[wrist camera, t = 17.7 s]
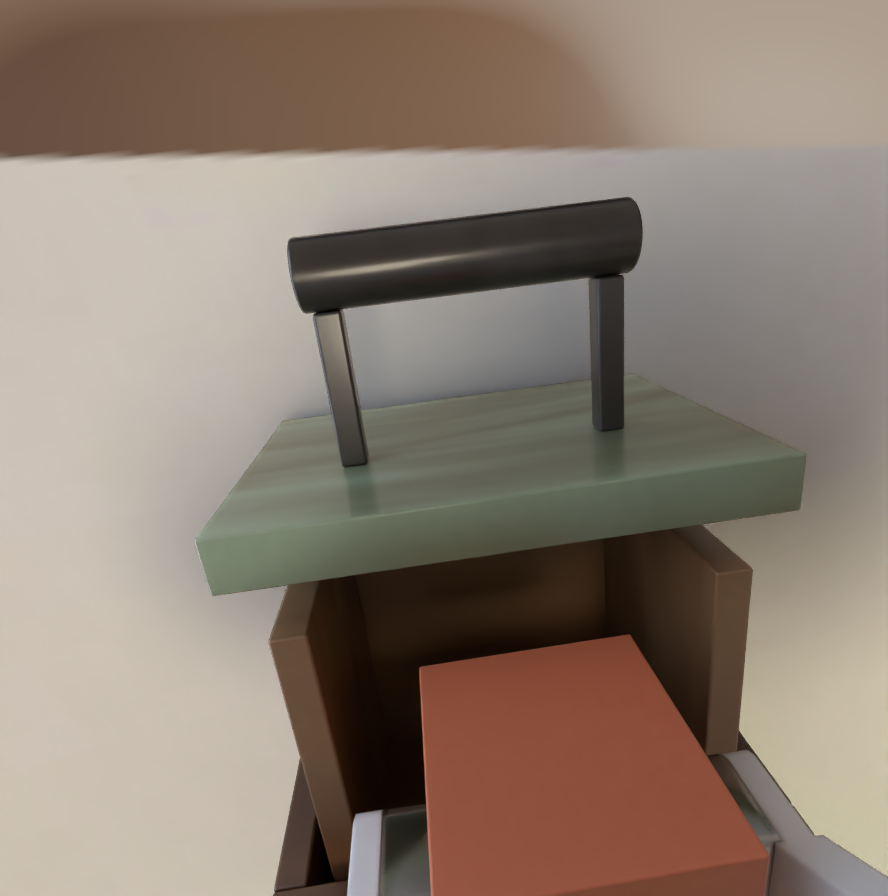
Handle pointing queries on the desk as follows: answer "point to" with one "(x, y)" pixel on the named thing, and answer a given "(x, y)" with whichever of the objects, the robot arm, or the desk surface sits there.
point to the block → (574, 782)
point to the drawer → (487, 510)
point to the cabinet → (304, 854)
